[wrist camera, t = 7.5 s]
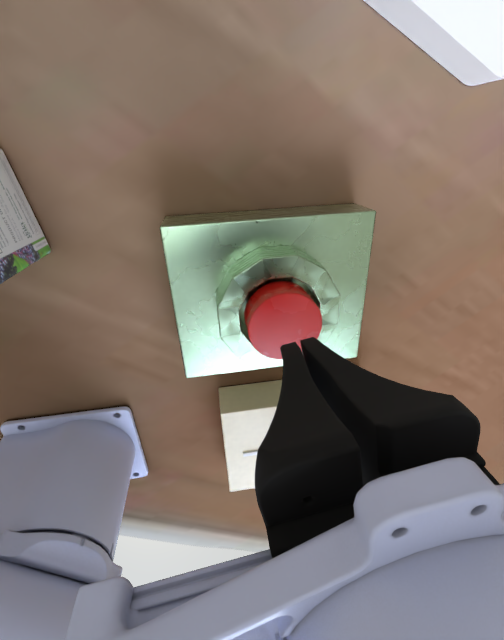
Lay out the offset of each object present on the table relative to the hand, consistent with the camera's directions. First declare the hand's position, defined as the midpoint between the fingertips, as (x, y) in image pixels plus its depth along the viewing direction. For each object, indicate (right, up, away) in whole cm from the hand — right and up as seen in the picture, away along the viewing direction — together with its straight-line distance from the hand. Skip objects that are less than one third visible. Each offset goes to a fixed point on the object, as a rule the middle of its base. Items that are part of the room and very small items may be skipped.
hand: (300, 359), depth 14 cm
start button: (-1, +2, +4) cm, 5 cm away
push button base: (-1, +4, +8) cm, 9 cm away
